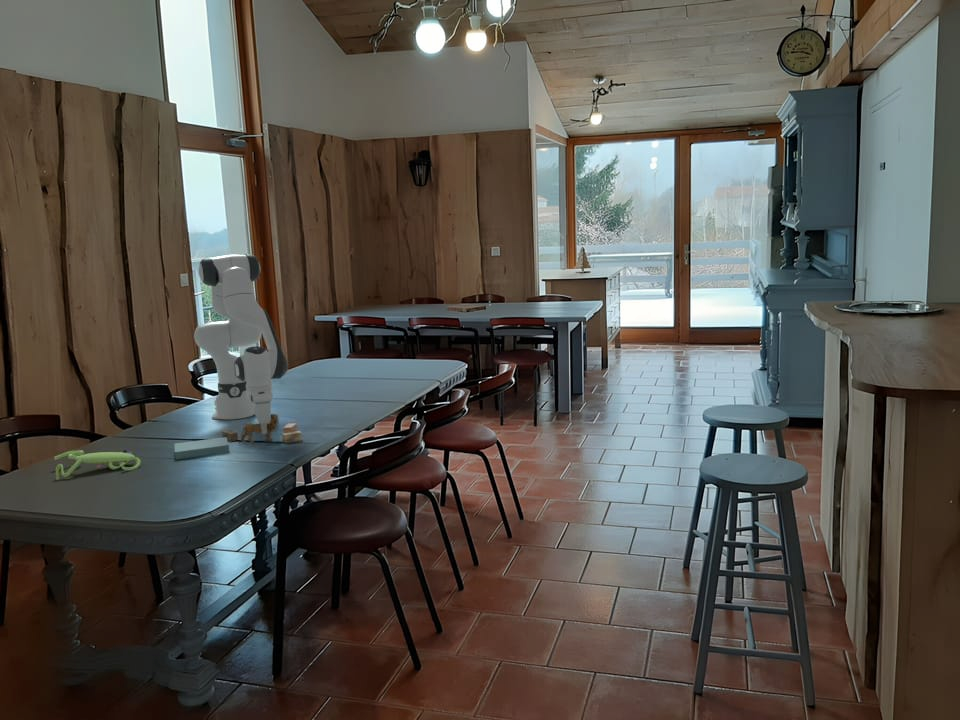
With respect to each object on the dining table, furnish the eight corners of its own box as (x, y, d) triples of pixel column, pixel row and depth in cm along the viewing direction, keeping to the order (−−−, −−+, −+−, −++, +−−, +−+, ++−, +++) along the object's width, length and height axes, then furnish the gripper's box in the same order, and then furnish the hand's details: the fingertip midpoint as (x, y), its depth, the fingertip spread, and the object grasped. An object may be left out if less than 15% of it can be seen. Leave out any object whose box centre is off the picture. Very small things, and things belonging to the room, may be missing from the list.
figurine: (58, 466, 258) (55, 450, 257) (145, 456, 265) (143, 440, 264) (45, 482, 240) (43, 465, 239) (139, 471, 248) (137, 453, 247)
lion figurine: (278, 436, 283) (276, 411, 281) (282, 439, 278) (280, 414, 277) (236, 443, 275) (234, 418, 274) (240, 446, 271) (238, 420, 269)
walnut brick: (222, 439, 282) (221, 431, 282) (230, 437, 284) (229, 429, 284) (230, 442, 278) (229, 434, 278) (238, 440, 280) (237, 432, 280)
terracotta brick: (289, 431, 290) (288, 423, 289) (297, 431, 290) (296, 423, 289) (283, 435, 284) (283, 427, 283) (291, 435, 284) (291, 427, 283)
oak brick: (285, 443, 273) (284, 435, 272) (282, 441, 275) (282, 433, 275) (302, 440, 276) (301, 432, 275) (299, 438, 278) (298, 430, 278)
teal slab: (175, 450, 269) (174, 443, 269) (227, 443, 275) (226, 436, 275) (175, 459, 258) (174, 452, 258) (229, 452, 264) (228, 444, 264)
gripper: (247, 389, 283) (251, 426, 285) (253, 399, 264) (257, 439, 267) (265, 387, 286) (269, 424, 288) (272, 397, 267) (276, 436, 269)
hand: (263, 431), depth 277 cm, fingers closed on lion figurine, 4 cm apart
